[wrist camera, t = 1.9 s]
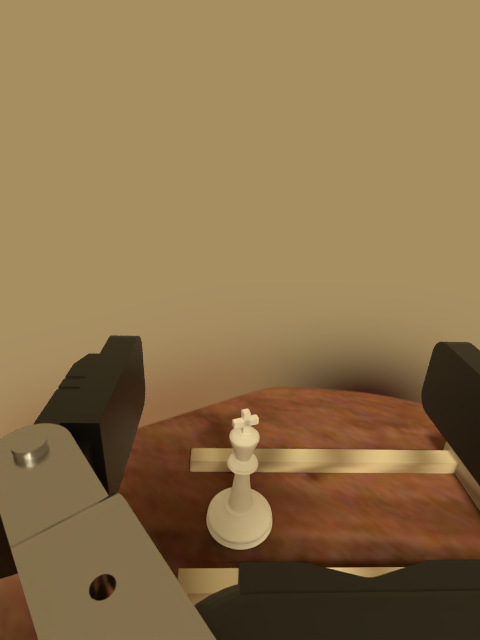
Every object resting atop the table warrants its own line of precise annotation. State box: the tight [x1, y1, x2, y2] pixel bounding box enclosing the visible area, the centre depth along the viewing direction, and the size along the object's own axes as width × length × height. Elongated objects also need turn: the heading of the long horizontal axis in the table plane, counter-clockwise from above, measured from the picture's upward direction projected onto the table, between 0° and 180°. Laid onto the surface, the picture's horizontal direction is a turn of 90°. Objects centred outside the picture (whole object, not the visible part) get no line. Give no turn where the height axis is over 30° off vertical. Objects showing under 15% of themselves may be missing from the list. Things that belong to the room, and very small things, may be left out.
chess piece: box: [206, 409, 272, 550], centre depth 27 cm, size 5×5×10 cm
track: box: [178, 441, 480, 605], centre depth 29 cm, size 25×14×2 cm, turn 92°
